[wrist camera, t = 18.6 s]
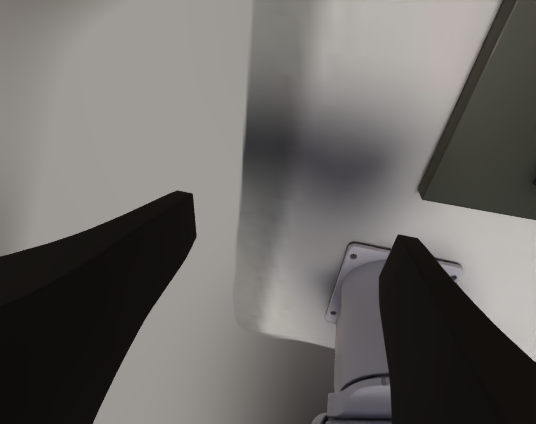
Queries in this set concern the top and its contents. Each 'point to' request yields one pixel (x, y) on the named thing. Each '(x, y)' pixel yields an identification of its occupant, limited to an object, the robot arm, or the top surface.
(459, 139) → the slate board
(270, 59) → the top surface
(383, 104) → the top surface
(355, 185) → the top surface
